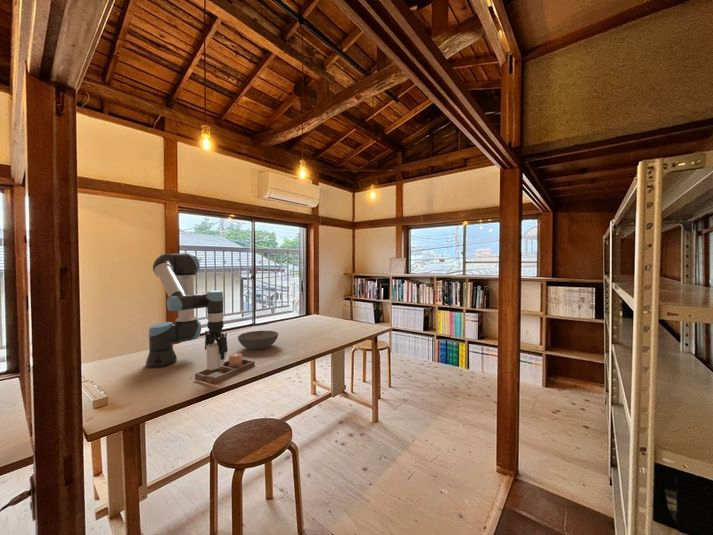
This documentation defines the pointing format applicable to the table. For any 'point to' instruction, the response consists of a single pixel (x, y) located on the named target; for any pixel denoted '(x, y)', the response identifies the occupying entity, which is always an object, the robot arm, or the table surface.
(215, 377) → the divided wooden tray
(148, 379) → the table surface
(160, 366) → the robot arm
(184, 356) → the table surface
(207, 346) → the mug
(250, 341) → the bowl
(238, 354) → the brown egg
